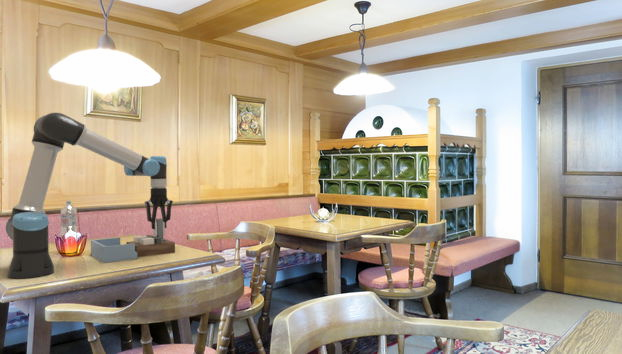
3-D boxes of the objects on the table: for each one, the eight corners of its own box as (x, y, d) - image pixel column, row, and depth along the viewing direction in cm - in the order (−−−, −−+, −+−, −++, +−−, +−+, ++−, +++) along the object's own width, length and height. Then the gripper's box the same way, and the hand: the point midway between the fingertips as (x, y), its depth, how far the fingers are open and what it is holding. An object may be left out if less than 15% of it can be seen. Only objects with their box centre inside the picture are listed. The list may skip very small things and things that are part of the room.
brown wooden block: (175, 252, 215) (174, 242, 215) (136, 257, 204) (136, 246, 204) (163, 248, 228) (163, 238, 228) (126, 252, 216) (126, 242, 216)
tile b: (147, 241, 216) (147, 236, 216) (136, 243, 213) (136, 237, 213) (144, 240, 220) (144, 235, 220) (133, 241, 217) (133, 236, 217)
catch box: (137, 258, 200) (137, 243, 200) (103, 263, 192) (103, 246, 191) (121, 251, 219) (121, 237, 219) (90, 254, 210) (90, 240, 210)
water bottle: (59, 253, 215) (58, 201, 215) (74, 251, 220) (73, 200, 220) (64, 254, 211) (63, 202, 210) (79, 252, 216) (78, 201, 215)
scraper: (169, 242, 214) (169, 219, 214) (156, 244, 210) (156, 220, 210) (158, 238, 226) (158, 217, 225) (146, 240, 222) (146, 218, 222)
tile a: (154, 243, 210) (154, 238, 210) (143, 245, 207) (143, 239, 207) (150, 242, 214) (150, 237, 214) (139, 243, 211) (139, 238, 211)
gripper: (171, 186, 226) (172, 233, 226) (139, 187, 216) (139, 236, 216) (177, 187, 220) (178, 234, 220) (144, 188, 210) (144, 238, 210)
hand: (159, 235), depth 218 cm, fingers open, 3 cm apart
